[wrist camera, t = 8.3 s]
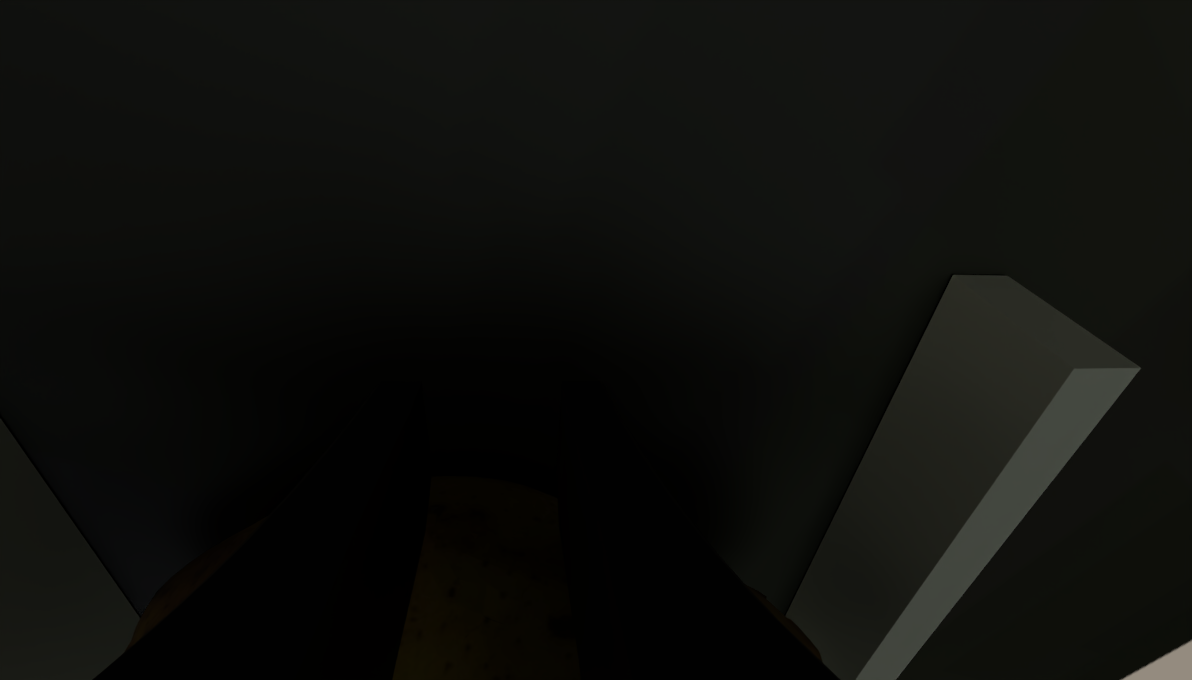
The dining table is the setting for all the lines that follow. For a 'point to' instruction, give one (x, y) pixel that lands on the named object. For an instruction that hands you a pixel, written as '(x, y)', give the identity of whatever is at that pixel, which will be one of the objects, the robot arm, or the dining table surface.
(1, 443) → the grey u-shaped bar
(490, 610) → the potato
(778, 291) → the dining table surface
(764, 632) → the robot arm
